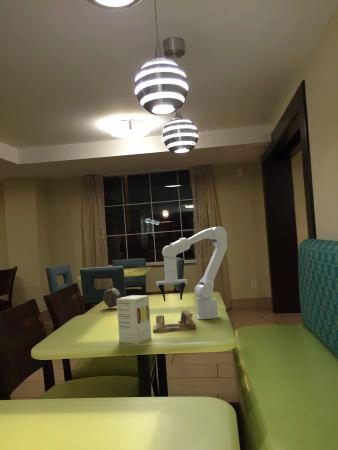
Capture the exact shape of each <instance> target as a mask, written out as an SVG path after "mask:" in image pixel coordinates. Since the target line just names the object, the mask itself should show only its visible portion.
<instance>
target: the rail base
mask: <svg viewBox="0 0 338 450" xmlns="http://www.w3.org/2000/svg"><path fill="white" fill-rule="evenodd" d="M187 330H197V325H196V322H195V319H192V323H189V324H183V323H182V322H181V320H178V321H177V322H175V323H165V315H164V314H163V313H157V314H156V313H155V325H154V324H153V325H152V333H153V334H154V333H164V332H175V331H177V332H178V331H187Z"/></svg>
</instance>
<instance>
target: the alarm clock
mask: <svg viewBox="0 0 338 450" xmlns="http://www.w3.org/2000/svg"><path fill="white" fill-rule="evenodd" d="M110 283H111V285H110ZM108 286H109V288H108V289H106V290H104V293H103V296H102V299H103V302H104V304H105V306H107V308H108V309H109V310H111V308H115V307H117V299H119V298H122V294H121V292H120V290H118V288H116V287H113V286H114V282H113V281H109V282H108Z"/></svg>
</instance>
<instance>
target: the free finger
mask: <svg viewBox="0 0 338 450" xmlns="http://www.w3.org/2000/svg"><path fill="white" fill-rule="evenodd" d="M193 314H194V313H193V312H192V311H190V310H189V309H185V310H182V311H181V314H180V321H181V322H182V323H183V324H189V323H192V320H193V316H194V315H193Z"/></svg>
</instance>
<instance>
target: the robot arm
mask: <svg viewBox="0 0 338 450" xmlns="http://www.w3.org/2000/svg"><path fill="white" fill-rule="evenodd" d="M227 237H228V233H227V231H226V228H224V227H223V226H214V227H210V228H207V229H204V230H201V231H200V232H198V233H196V234H194V235H192V236H191V237H189V238H186V237H183V238H182V237H180V238H179V239H178V240H176V241H175V242H171V243H169V245H165V246H164V247H163V248H162V251H161V254H162V256H163V266H164V267H163V268H164V280H159V281H157V280H156V281H155V285H156V287H158V288H159V291H160V292H161V294H162V297H163V302H167V301H166V295H165V286H168V285H169V286H171V285H178V286H179V299H180V300H183V295H184V291H185V288H186V284H188V279H187V278H183V279H182V278H181V279H178V268H177V259H176V257H177V255H178V254H179V255H180V254H181V253H183V252H185V251H187V250H189V249H190V247H191V246H192V245H193V244H195V243H198V242H200V241H201V240H202V241H203V240H204V239H209V240H210V241H211V242H212V244H213V246H214V250H213V253H212V256H211V257H210V260H209V263H208V265H207V267H206V269H205V271H204V275H203V276H202V278H200V280H199V282H198V283H197V284H196V285H195V286H194V288H193V289H194V294H195V295H196V298H195V299H196V311H197V315H195V317H196V319H197V320H208V319H218V318H219V313H218V302H217V298H216V297H212V296H213V293H214V287H215V284H214V281H215V278H216V275H217V274H218V271H219V268H220V266H221V264H222V262H223V259H224V257H225V254H226V251H227V249H228V243H227V242H228V241H227V240H228V239H227Z"/></svg>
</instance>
